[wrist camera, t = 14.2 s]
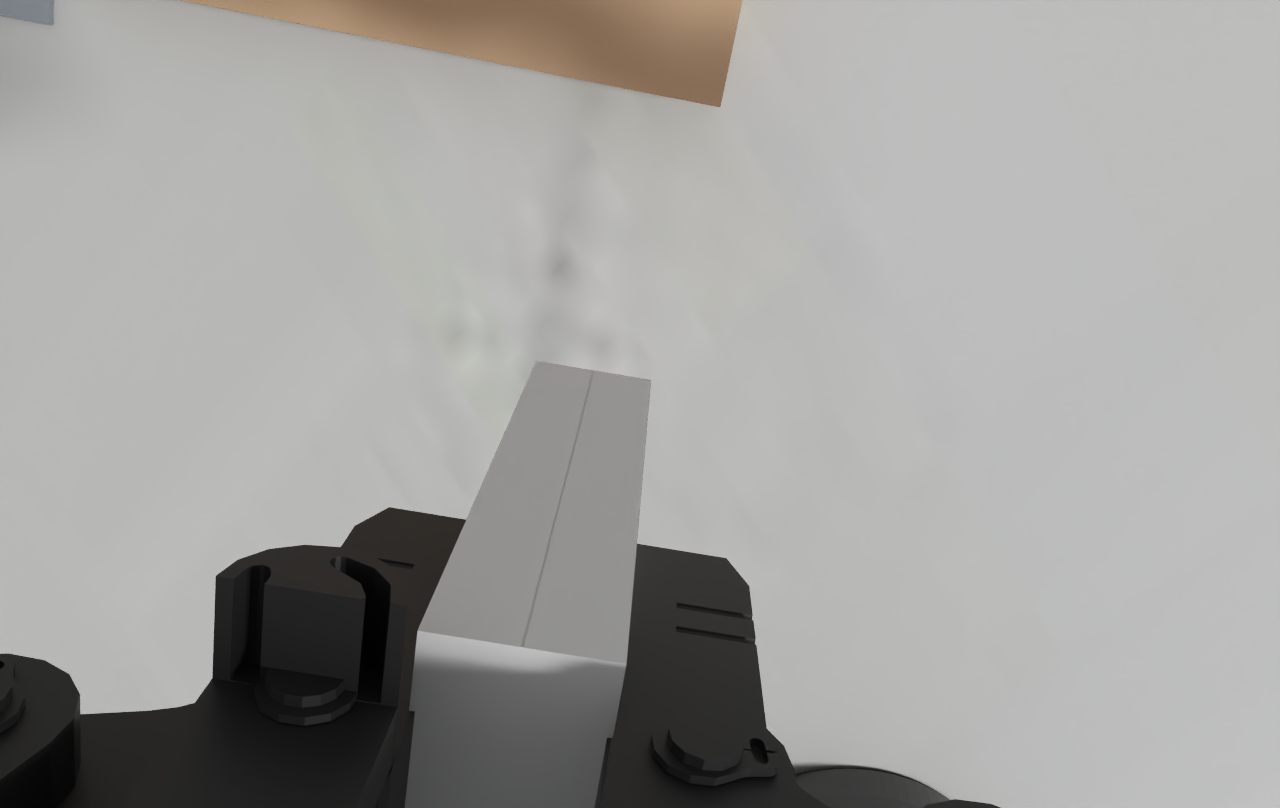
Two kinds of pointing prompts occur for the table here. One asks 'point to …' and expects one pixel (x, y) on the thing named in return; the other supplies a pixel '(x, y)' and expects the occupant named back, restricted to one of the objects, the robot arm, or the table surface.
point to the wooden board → (547, 35)
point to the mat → (28, 10)
